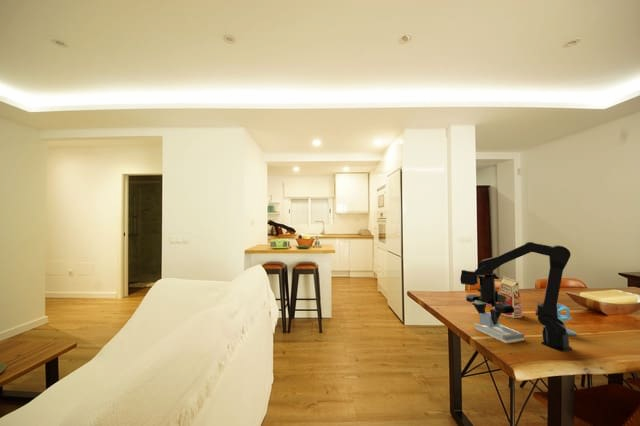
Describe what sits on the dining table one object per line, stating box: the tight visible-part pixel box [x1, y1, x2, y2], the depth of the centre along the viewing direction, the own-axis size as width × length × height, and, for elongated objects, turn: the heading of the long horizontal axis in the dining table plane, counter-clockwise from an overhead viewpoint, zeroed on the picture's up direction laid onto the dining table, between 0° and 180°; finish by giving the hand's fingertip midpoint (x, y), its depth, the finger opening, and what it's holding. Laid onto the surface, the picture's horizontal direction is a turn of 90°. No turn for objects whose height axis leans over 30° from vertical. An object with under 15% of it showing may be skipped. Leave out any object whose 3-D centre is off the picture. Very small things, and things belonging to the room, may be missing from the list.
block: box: [478, 311, 500, 328], centre depth 106 cm, size 5×5×4 cm
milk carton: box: [496, 275, 523, 319], centre depth 125 cm, size 9×9×20 cm
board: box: [474, 322, 525, 344], centre depth 101 cm, size 14×10×2 cm
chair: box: [557, 303, 577, 336], centre depth 104 cm, size 8×8×12 cm
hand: (489, 322), depth 105 cm, fingers closed on block, 5 cm apart
